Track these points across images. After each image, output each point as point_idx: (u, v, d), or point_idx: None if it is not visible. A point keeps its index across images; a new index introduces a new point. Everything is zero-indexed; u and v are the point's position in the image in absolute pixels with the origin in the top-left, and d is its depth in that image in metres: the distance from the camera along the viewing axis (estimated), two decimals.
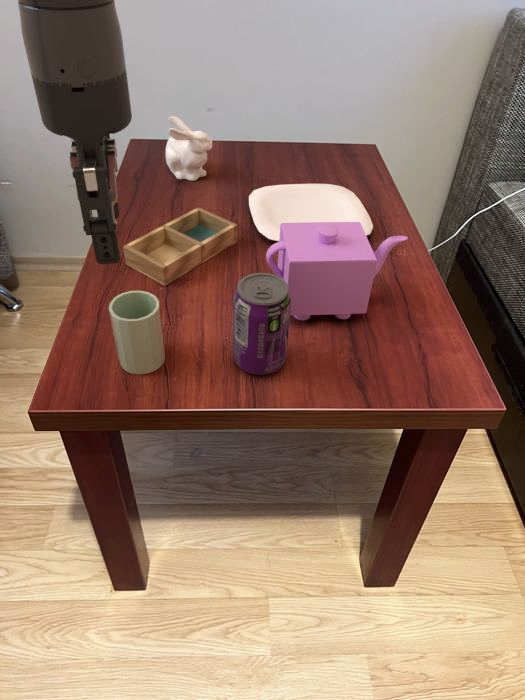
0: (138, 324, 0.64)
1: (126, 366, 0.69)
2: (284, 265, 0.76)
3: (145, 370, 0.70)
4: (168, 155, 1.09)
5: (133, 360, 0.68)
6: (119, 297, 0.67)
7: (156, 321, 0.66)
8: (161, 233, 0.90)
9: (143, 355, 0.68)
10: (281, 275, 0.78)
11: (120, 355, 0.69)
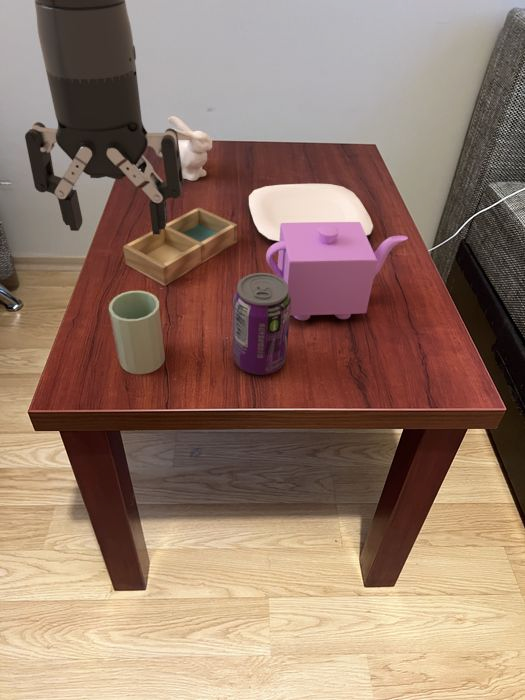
0: (138, 324, 0.64)
1: (126, 366, 0.69)
2: (284, 265, 0.76)
3: (145, 370, 0.70)
4: None
5: (133, 360, 0.68)
6: (119, 297, 0.67)
7: (156, 321, 0.66)
8: (161, 233, 0.90)
9: (143, 355, 0.68)
10: (281, 275, 0.78)
11: (120, 355, 0.69)
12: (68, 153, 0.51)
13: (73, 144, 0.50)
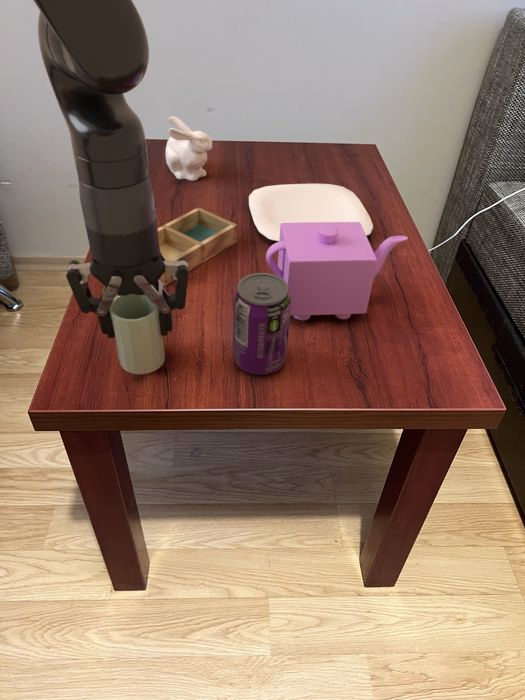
0: (138, 324, 0.64)
1: (126, 366, 0.69)
2: (284, 265, 0.76)
3: (145, 370, 0.70)
4: (168, 155, 1.09)
5: (133, 360, 0.68)
6: (119, 297, 0.67)
7: (156, 321, 0.66)
8: (161, 233, 0.90)
9: (143, 355, 0.68)
10: (281, 275, 0.78)
11: (120, 355, 0.69)
12: (100, 280, 0.62)
13: (105, 273, 0.61)
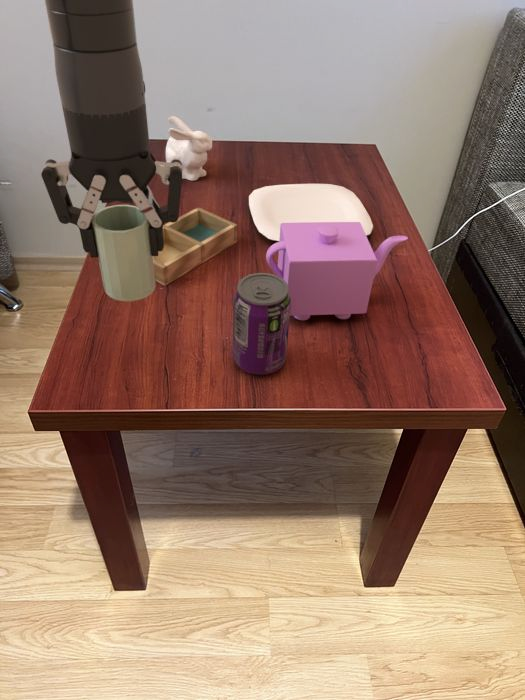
0: (125, 237, 0.57)
1: (112, 291, 0.61)
2: (284, 265, 0.76)
3: (133, 296, 0.62)
4: (168, 155, 1.09)
5: (120, 283, 0.60)
6: (104, 210, 0.59)
7: (146, 236, 0.58)
8: None
9: (131, 277, 0.60)
10: (281, 275, 0.78)
11: (105, 278, 0.61)
12: (81, 181, 0.54)
13: (86, 173, 0.53)
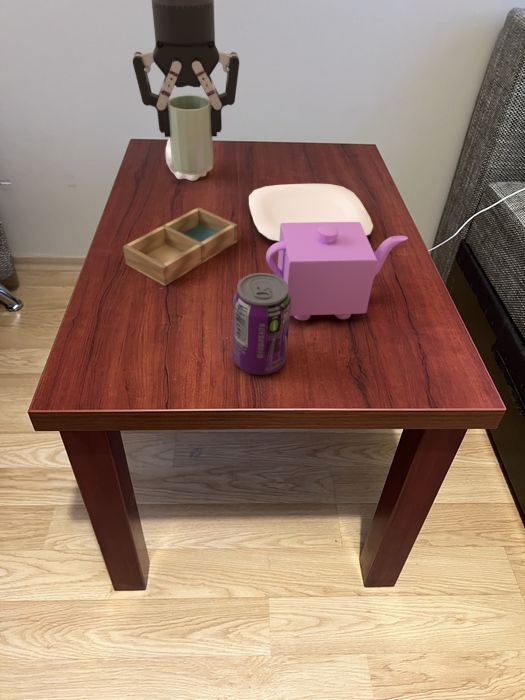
0: (193, 115, 0.72)
1: (180, 165, 0.77)
2: (284, 265, 0.76)
3: (197, 170, 0.78)
4: (168, 155, 1.09)
5: (187, 157, 0.76)
6: (175, 98, 0.75)
7: (209, 116, 0.74)
8: (161, 233, 0.90)
9: (196, 152, 0.76)
10: (281, 275, 0.78)
11: (175, 155, 0.77)
12: (162, 68, 0.70)
13: (166, 60, 0.69)
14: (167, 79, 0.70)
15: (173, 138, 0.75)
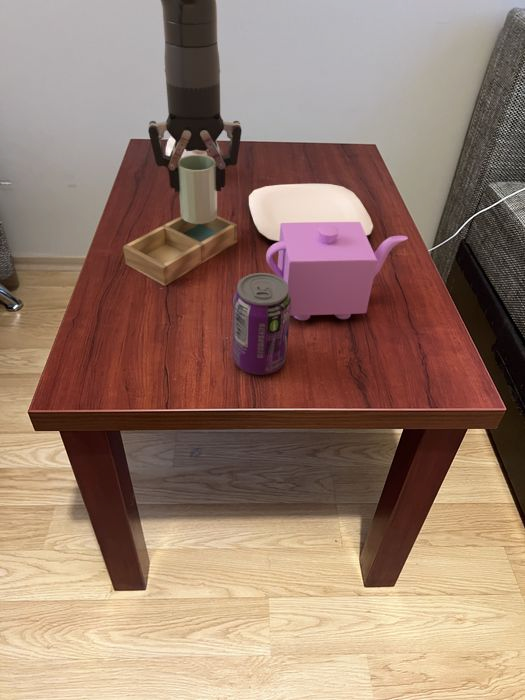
0: (201, 174, 0.82)
1: (188, 216, 0.87)
2: (284, 265, 0.76)
3: (203, 220, 0.88)
4: (168, 155, 1.09)
5: (194, 209, 0.86)
6: (184, 158, 0.85)
7: (214, 175, 0.84)
8: (161, 233, 0.90)
9: (202, 205, 0.86)
10: (281, 275, 0.78)
11: (183, 207, 0.87)
12: (173, 135, 0.80)
13: (178, 129, 0.79)
14: (178, 145, 0.80)
15: (182, 193, 0.85)
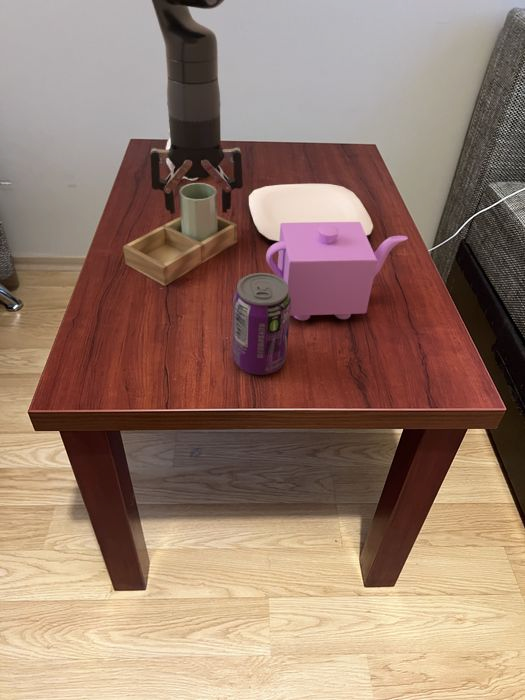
0: (202, 203, 0.86)
1: None
2: (284, 265, 0.76)
3: None
4: None
5: (196, 236, 0.89)
6: (185, 187, 0.88)
7: (214, 203, 0.87)
8: (161, 233, 0.90)
9: (203, 232, 0.89)
10: (281, 275, 0.78)
11: (185, 233, 0.90)
12: (175, 164, 0.83)
13: (179, 158, 0.82)
14: (178, 171, 0.83)
15: (184, 220, 0.89)
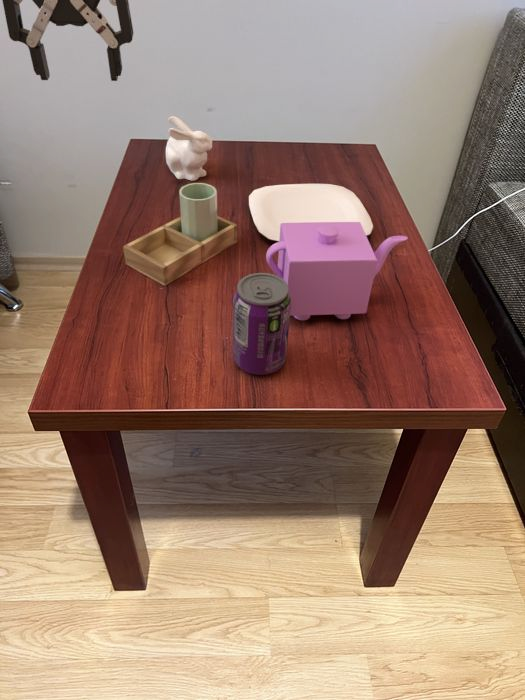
0: (202, 203, 0.86)
1: None
2: (284, 265, 0.76)
3: None
4: (168, 155, 1.09)
5: (196, 236, 0.89)
6: (185, 187, 0.88)
7: (214, 203, 0.87)
8: (161, 233, 0.90)
9: (203, 232, 0.89)
10: (281, 275, 0.78)
11: (185, 233, 0.90)
12: (37, 2, 0.62)
13: None
14: (40, 12, 0.62)
15: (184, 220, 0.89)
